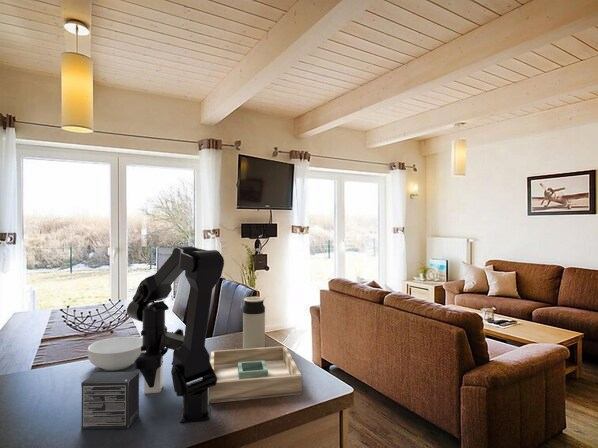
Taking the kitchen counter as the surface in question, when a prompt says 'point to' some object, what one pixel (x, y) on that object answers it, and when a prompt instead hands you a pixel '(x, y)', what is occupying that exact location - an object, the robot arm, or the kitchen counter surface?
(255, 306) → the travel mug
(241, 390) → the walled box
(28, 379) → the kitchen counter surface
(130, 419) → the small box
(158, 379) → the grey plug
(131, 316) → the robot arm
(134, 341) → the cereal bowl
